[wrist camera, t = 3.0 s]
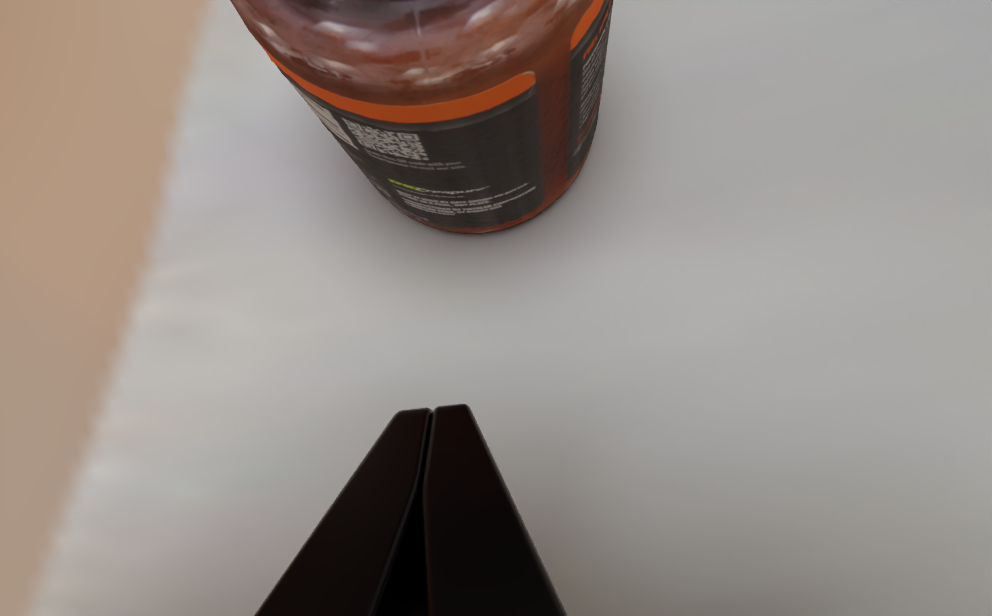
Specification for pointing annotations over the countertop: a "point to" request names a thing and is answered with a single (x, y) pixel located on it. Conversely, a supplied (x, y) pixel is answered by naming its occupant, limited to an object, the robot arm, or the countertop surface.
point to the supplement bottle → (448, 96)
